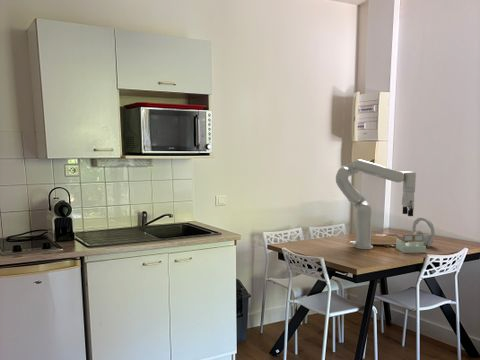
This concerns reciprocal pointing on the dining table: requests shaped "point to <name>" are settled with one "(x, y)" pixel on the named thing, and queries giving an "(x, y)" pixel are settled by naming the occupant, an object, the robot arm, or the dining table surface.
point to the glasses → (410, 237)
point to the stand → (410, 247)
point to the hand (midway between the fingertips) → (407, 215)
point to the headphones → (427, 236)
